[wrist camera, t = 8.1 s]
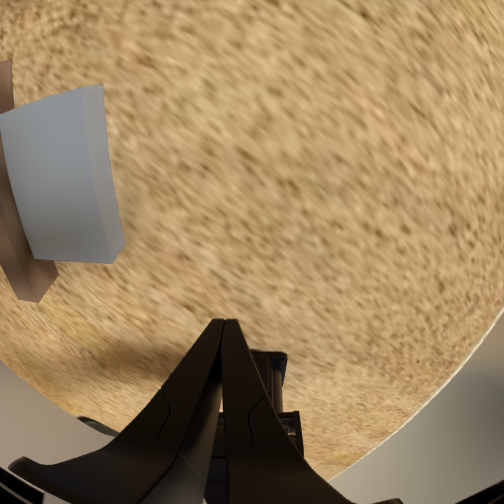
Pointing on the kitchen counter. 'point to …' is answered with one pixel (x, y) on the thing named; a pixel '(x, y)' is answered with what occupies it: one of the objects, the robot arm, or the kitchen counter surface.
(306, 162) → the kitchen counter surface
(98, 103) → the slate plate
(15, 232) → the walnut bar
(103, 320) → the kitchen counter surface
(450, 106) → the kitchen counter surface
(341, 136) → the kitchen counter surface
